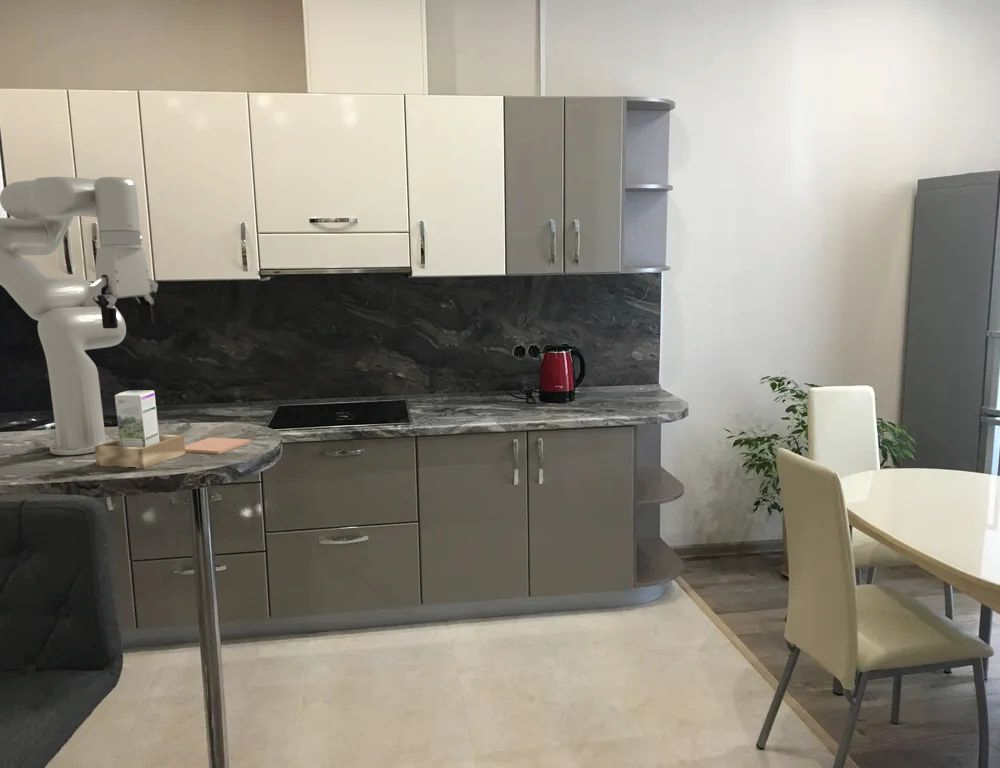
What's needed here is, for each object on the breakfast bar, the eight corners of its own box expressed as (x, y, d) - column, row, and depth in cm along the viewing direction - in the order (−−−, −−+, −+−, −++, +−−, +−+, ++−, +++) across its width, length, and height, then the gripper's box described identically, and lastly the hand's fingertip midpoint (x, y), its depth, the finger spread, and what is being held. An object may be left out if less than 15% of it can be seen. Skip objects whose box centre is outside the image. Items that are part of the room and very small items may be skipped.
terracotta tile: (176, 451, 167) (176, 448, 167) (209, 440, 178) (209, 437, 177) (219, 453, 164) (218, 451, 164) (250, 442, 174) (250, 439, 174)
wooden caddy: (96, 465, 157) (94, 446, 156) (140, 451, 168) (138, 433, 168) (144, 468, 153) (142, 449, 153) (185, 453, 165) (183, 435, 164)
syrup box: (162, 456, 164) (155, 389, 161) (147, 463, 158) (139, 394, 155) (137, 456, 164) (130, 389, 162) (120, 463, 158) (113, 394, 156)
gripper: (137, 241, 163) (144, 322, 166) (70, 240, 147) (79, 329, 150) (166, 241, 161) (173, 322, 164) (101, 239, 144) (110, 330, 147)
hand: (128, 326), depth 157 cm, fingers open, 9 cm apart
